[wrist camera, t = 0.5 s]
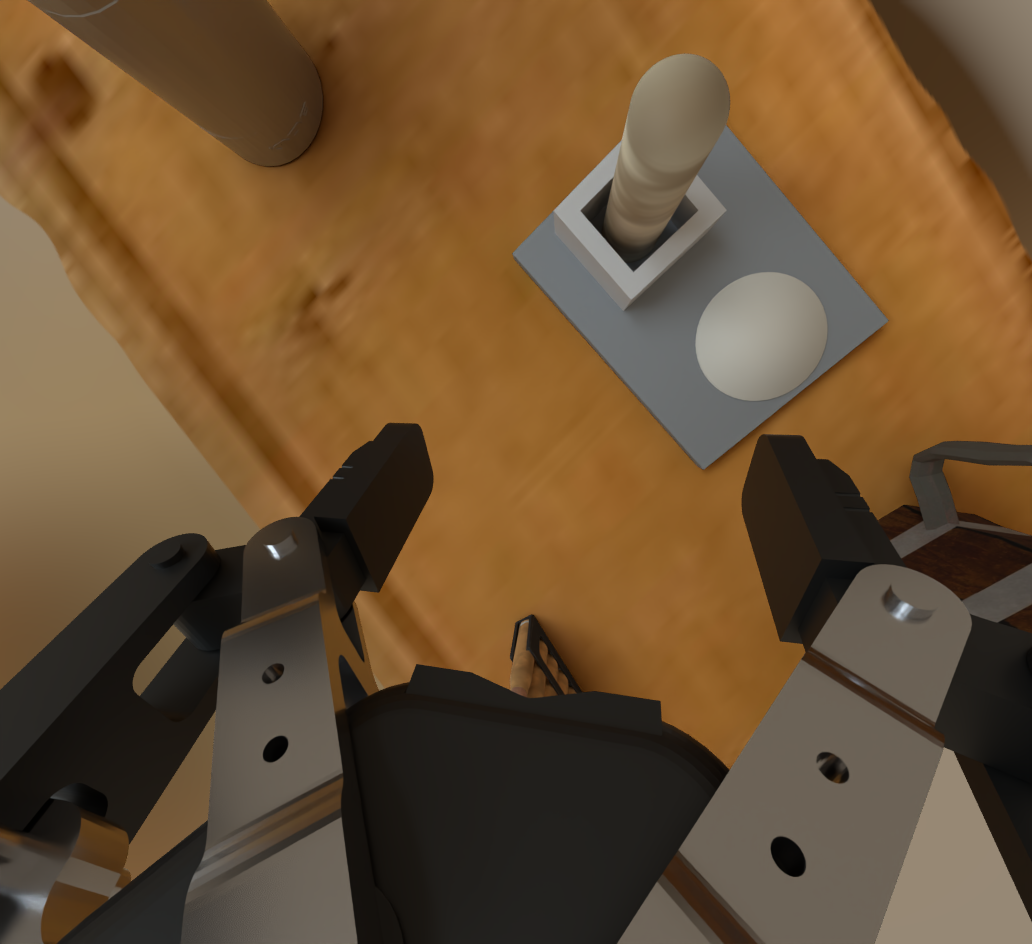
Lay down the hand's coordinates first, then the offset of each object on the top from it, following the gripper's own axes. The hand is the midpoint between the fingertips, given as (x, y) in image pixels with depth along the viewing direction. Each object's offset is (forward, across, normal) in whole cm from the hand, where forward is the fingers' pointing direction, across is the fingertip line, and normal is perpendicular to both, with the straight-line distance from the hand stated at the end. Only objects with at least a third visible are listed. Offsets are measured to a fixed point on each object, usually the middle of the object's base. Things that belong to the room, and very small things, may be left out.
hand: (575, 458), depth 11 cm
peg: (+28, -1, 0) cm, 28 cm away
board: (+28, -6, +4) cm, 29 cm away
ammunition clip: (+12, +3, +32) cm, 35 cm away
